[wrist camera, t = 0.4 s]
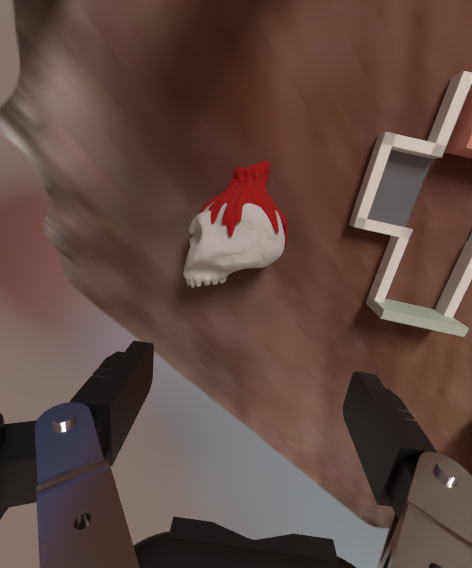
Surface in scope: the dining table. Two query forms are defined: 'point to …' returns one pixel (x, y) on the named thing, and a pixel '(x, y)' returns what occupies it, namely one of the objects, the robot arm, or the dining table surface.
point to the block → (462, 131)
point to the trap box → (398, 206)
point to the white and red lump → (236, 229)
